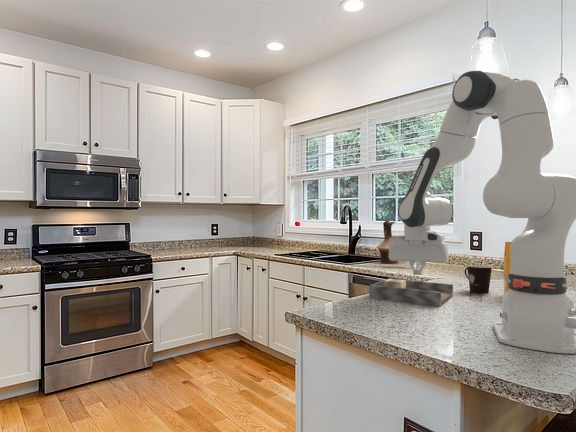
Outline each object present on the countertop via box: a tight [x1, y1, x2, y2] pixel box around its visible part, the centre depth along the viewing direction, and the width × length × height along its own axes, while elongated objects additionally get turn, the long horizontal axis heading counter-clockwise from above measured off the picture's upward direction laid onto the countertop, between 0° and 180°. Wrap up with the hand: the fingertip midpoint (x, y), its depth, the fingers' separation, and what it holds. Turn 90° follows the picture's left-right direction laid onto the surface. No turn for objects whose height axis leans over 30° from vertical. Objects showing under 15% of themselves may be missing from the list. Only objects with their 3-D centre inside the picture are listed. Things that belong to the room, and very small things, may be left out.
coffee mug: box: [464, 264, 493, 295], centre depth 149 cm, size 12×9×10 cm
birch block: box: [384, 278, 407, 288], centre depth 140 cm, size 6×6×4 cm
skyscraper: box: [403, 223, 421, 270], centre depth 222 cm, size 8×8×28 cm
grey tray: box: [368, 278, 454, 308], centre depth 137 cm, size 24×20×4 cm
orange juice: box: [503, 241, 512, 294], centre depth 137 cm, size 8×9×20 cm
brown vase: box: [375, 219, 399, 265], centre depth 250 cm, size 18×17×28 cm
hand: (417, 274), depth 135 cm, fingers closed
